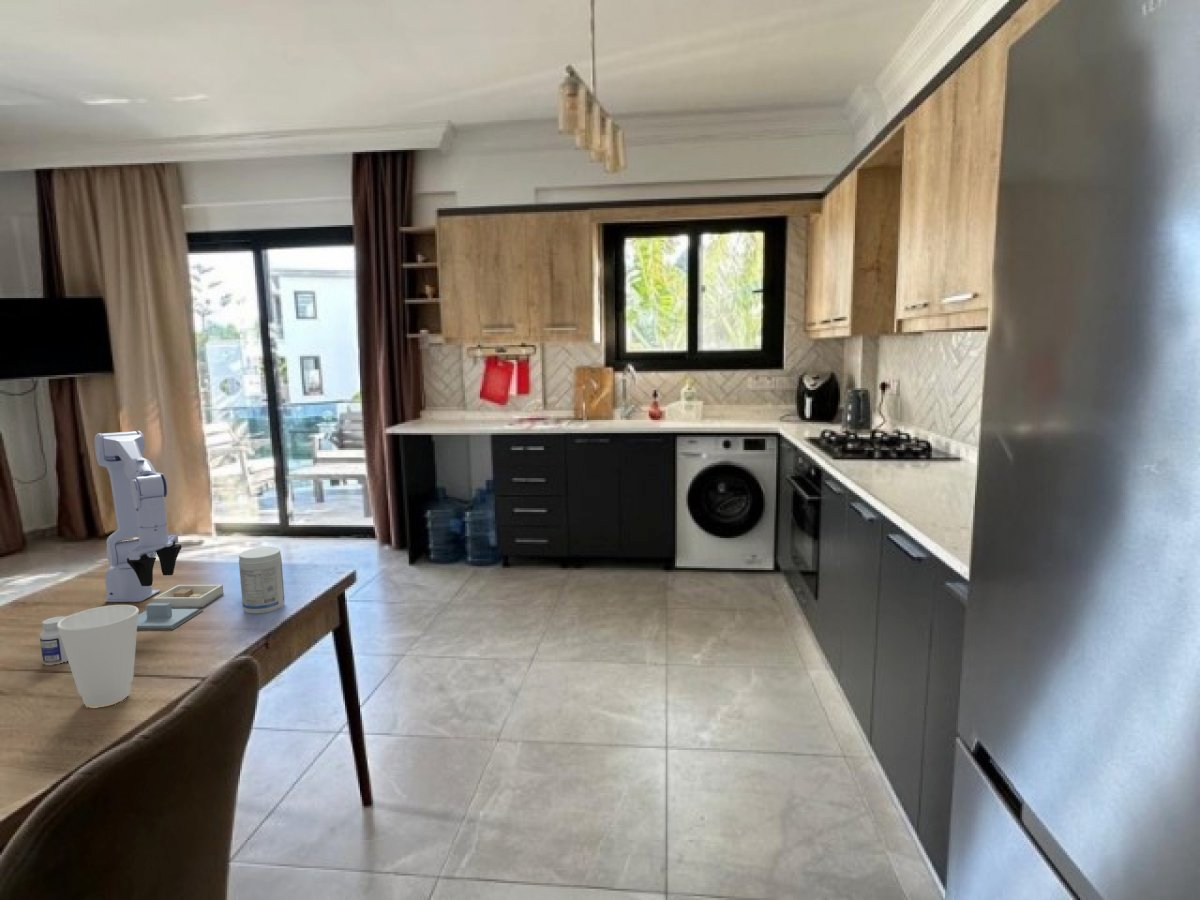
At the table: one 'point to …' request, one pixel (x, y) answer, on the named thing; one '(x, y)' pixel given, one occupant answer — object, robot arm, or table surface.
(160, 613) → the lid
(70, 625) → the cup
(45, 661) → the pill bottle
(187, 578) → the table surface
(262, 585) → the supplement tub
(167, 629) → the mat
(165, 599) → the storage box
